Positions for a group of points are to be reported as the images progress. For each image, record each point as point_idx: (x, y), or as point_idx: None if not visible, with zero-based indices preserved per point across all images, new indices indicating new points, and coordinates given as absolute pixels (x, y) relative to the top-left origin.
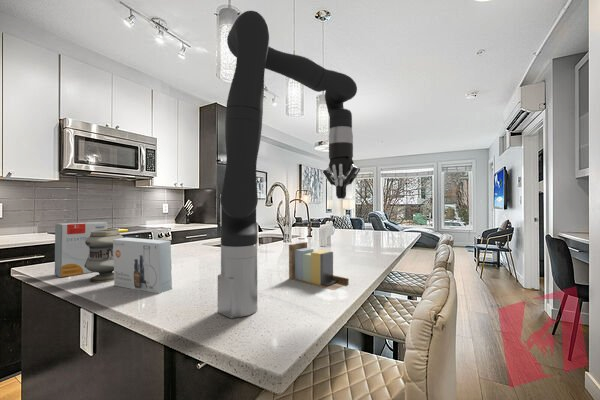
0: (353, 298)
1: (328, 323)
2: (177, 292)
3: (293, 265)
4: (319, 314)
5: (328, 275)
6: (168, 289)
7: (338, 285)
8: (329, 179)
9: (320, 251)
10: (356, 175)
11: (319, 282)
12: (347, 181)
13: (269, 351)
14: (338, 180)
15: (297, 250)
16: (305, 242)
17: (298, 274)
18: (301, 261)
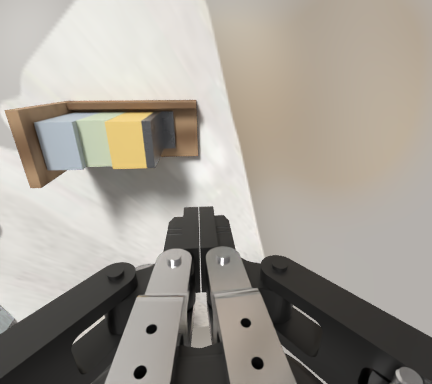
0: (237, 148)
1: (257, 238)
2: (23, 304)
3: None
4: (233, 228)
5: (160, 131)
6: (3, 310)
7: (186, 125)
8: (85, 361)
9: (120, 140)
10: (388, 316)
11: None
12: (289, 320)
13: None
14: (191, 334)
15: (60, 169)
16: (15, 117)
17: None
18: None
